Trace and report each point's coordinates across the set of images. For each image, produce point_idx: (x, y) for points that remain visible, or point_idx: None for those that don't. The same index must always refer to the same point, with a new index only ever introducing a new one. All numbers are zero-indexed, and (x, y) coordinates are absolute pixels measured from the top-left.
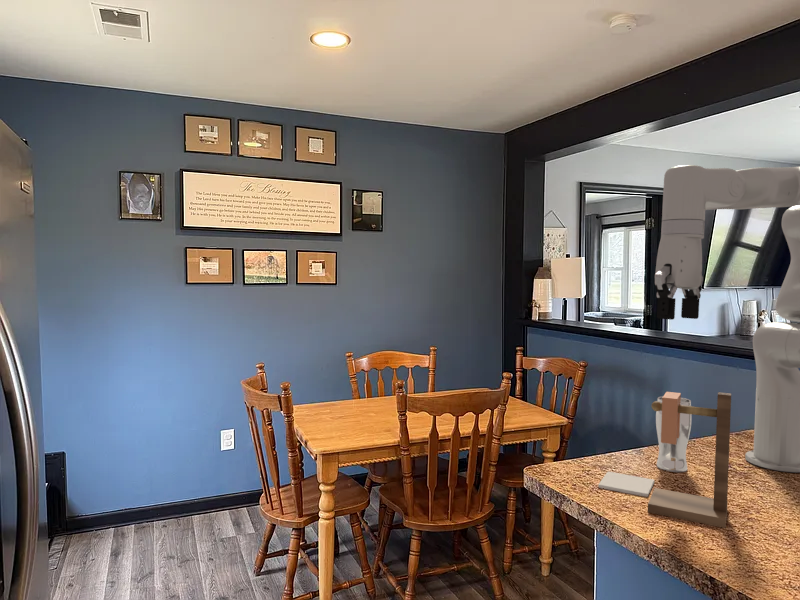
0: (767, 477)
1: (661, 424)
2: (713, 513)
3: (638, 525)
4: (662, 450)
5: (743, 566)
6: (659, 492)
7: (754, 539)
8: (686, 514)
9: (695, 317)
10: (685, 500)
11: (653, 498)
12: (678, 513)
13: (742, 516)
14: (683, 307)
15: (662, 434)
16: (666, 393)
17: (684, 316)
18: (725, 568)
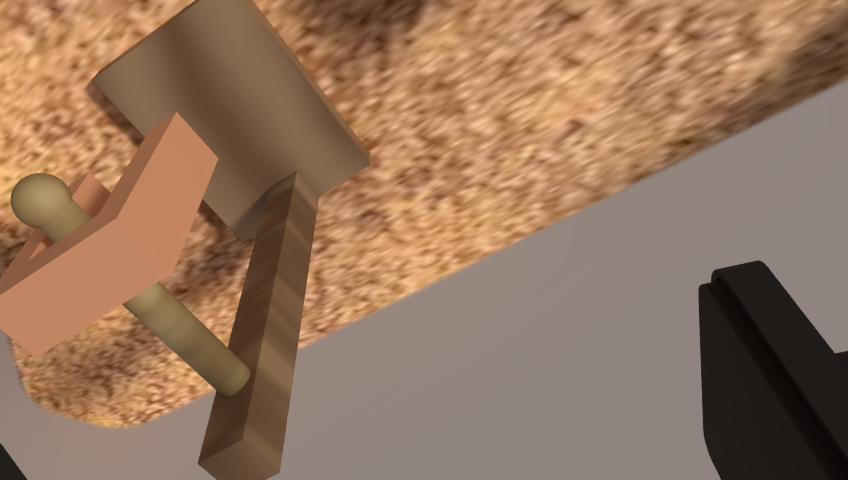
0: (809, 19)
1: (34, 230)
2: (242, 206)
3: (5, 127)
4: None
5: (117, 353)
6: (207, 24)
7: None
8: None
9: (709, 444)
10: (240, 111)
11: (143, 55)
12: None
13: (366, 199)
14: (767, 418)
15: None
16: (76, 253)
17: (707, 324)
18: (69, 345)
